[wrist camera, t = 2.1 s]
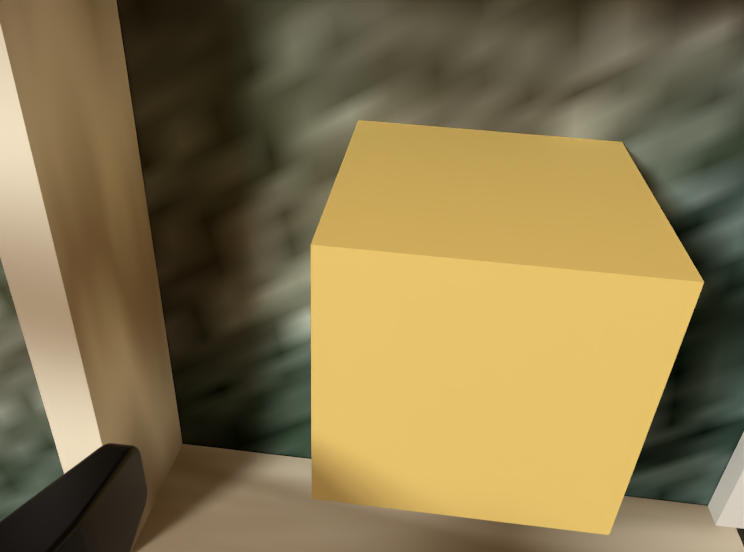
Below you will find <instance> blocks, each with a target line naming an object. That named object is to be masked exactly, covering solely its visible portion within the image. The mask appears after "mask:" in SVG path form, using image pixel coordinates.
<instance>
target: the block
mask: <svg viewBox="0 0 744 552" xmlns="http://www.w3.org/2000/svg"><path fill="white" fill-rule="evenodd" d="M703 284H704V281H703V279H702V278H701V276H700V274H699V272H698V271H697V269H696V267H695V266H694V264H693V262H692V261H691V259H690V257H689V255H688V254H687V252H686V250H685V249H684V247H683V245H682V243H681V242H680V240H679V238H678V237H677V235H676V233H675V232H674V230H673V228H672V226H671V225H670V223H669V221H668V220H667V218H666V216H665V214H664V213H663V211H662V209H661V208H660V206H659V204H658V203H657V201H656V199H655V197H654V196H653V194H652V192H651V191H650V189H649V187H648V185H647V184H646V182H645V180H644V179H643V177H642V175H641V174H640V172H639V170H638V168H637V167H636V165H635V163H634V162H633V160H632V158H631V156H630V155H629V153H628V151H627V150H626V148H625V146H624V145H623V143H622V142H616V141H604V140H592V139H579V138H567V137H555V136H543V135H531V134H519V133H507V132H495V131H483V130H470V129H458V128H446V127H434V126H422V125H410V124H398V123H386V122H374V121H361V120H358V122H357V125H356V128H355V130H354V133H353V136H352V138H351V141H350V143H349V146H348V149H347V151H346V154H345V157H344V159H343V162H342V164H341V167H340V170H339V172H338V175H337V177H336V180H335V183H334V185H333V188H332V191H331V193H330V196H329V198H328V201H327V204H326V206H325V209H324V212H323V214H322V217H321V219H320V222H319V225H318V227H317V230H316V232H315V235H314V238H313V240H312V243H311V459H312V499H316V500H324V501H333V502H341V503H349V504H357V505H366V506H374V507H382V508H390V509H398V510H407V511H415V512H423V513H431V514H440V515H448V516H456V517H464V518H472V519H481V520H489V521H497V522H505V523H514V524H522V525H530V526H538V527H547V528H555V529H563V530H571V531H579V532H588V533H596V534H604V535H609V534H610V532H611V529H612V526H613V524H614V521H615V518H616V516H617V513H618V510H619V508H620V505H621V502H622V500H623V497H624V494H625V492H626V489H627V486H628V484H629V481H630V478H631V476H632V473H633V470H634V468H635V465H636V462H637V460H638V457H639V454H640V452H641V449H642V447H643V444H644V441H645V439H646V436H647V433H648V431H649V428H650V425H651V423H652V420H653V417H654V415H655V412H656V409H657V407H658V404H659V401H660V399H661V396H662V393H663V391H664V388H665V385H666V383H667V380H668V377H669V375H670V372H671V369H672V367H673V364H674V361H675V359H676V356H677V353H678V351H679V348H680V345H681V343H682V340H683V337H684V335H685V332H686V329H687V327H688V324H689V321H690V319H691V316H692V313H693V311H694V308H695V306H696V303H697V300H698V298H699V295H700V292H701V290H702V287H703Z"/></svg>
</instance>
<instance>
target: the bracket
mask: <svg viewBox="0 0 744 552" xmlns="http://www.w3.org/2000/svg"><path fill="white" fill-rule="evenodd" d="M0 257H1V261H2V264H3V267H4V271H5V274H6V278H7V281H8V284H9V288H10V291H11V295H12V298H13V301H14V305H15V308H16V312H17V315H18V318H19V322H20V325H21V329H22V332H23V335H24V339H25V342H26V346H27V349H28V352H29V356H30V359H31V363H32V366H33V369H34V373H35V376H36V380H37V383H38V386H39V390H40V393H41V397H42V400H43V403H44V407H45V410H46V414H47V417H48V420H49V424H50V427H51V431H52V434H53V437H54V441H55V444H56V448H57V451H58V454H59V458H60V461H61V465H62V468H63V471H64V474H65V473H66V472H67V471H69V470H70V469H71V468H73V467H74V466H75V465H77V464H78V463H79V462H81V461H82V460H83V459H85V458H86V457H87V456H89V455H90V454H91V453H93V452H94V451H95V450H97V449H98V448H100V447H101V446H103V445H105V444H108V443H116V444H124V445H133V446H136V447H137V448H138V449H139V451H140V453H141V458H142V463H143V468H144V473H145V478H146V483H147V501H146V505H145V509H144V512H143V515H142V518H141V521H140V524H139V527H138V530H137V533H136V536H135V539H134V542H133V545H132V548H131V551H130V552H744V546H743V544H742V541H741V539H740V536H739V534H738V532H737V529H736V528H733V527H725V526H717V525H715V523H714V520H713V518H712V515H711V513H710V510H709V507H708V506H705V505H697V504H688V503H680V502H671V501H663V500H654V499H646V498H637V497H629V496H624V497H623V500H622V502H621V505H620V508H619V510H618V513H617V516H616V518H615V521H614V524H613V526H612V529H611V532H610V534H609V535H604V534H596V533H588V532H579V531H571V530H563V529H555V528H547V527H538V526H530V525H522V524H514V523H505V522H497V521H489V520H481V519H472V518H464V517H456V516H448V515H440V514H431V513H423V512H415V511H407V510H398V509H390V508H382V507H374V506H366V505H357V504H349V503H341V502H333V501H324V500H316V499H312V459H307V458H298V457H290V456H281V455H273V454H265V453H256V452H248V451H239V450H231V449H222V448H214V447H205V446H197V445H188V444H183V443H182V436H181V430H180V423H179V416H178V410H177V403H176V396H175V389H174V383H173V376H172V369H171V363H170V356H169V349H168V343H167V336H166V329H165V322H164V316H163V309H162V302H161V296H160V289H159V282H158V276H157V269H156V262H155V256H154V249H153V242H152V235H151V229H150V222H149V215H148V209H147V202H146V195H145V189H144V182H143V175H142V168H141V162H140V155H139V148H138V142H137V135H136V128H135V122H134V115H133V108H132V102H131V95H130V88H129V81H128V75H127V68H126V61H125V55H124V48H123V41H122V35H121V28H120V21H119V14H118V8H117V1H116V0H0Z"/></svg>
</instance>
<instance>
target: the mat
mask: <svg viewBox="0 0 744 552" xmlns="http://www.w3.org/2000/svg"><path fill="white" fill-rule="evenodd" d="M708 507H709V510H710V513H711V515H712V518H713V520H714V523H715V525H717V526H725V527H733V528H742V529H744V432H743V434H742V436H741V438H740V440H739V442H738V445H737V447H736V449H735V451H734V453H733V455H732V457H731V459H730V461H729V463H728V465H727V467H726V469H725V471H724V473H723V476H722V478H721V480H720V482H719V484H718V486H717V488H716V490H715V492H714V494H713V496H712V498H711V500H710V502H709V505H708Z"/></svg>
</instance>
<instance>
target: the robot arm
mask: <svg viewBox="0 0 744 552" xmlns="http://www.w3.org/2000/svg"><path fill="white" fill-rule="evenodd" d="M146 501H147V483H146V478H145V473H144V468H143V463H142V458H141V453H140V451H139V449H138V448H137V447H136V446H133V445H124V444H116V443H108V444H105V445H103V446H101V447H100V448H98V449H97V450H95V451H94V452H93V453H91V454H90V455H89V456H87V457H86V458H85V459H83V460H82V461H81V462H79V463H78V464H77V465H75V466H74V467H73V468H71V469H70V470H69V471H67V472H66V473H65V474H63V475H62V476H61V477H59V478H58V479H57V480H55V481H54V482H53V483H51V484H50V485H49V486H47V487H46V488H45V489H43V490H42V491H41V492H39V493H38V494H37V495H35V496H34V497H33V498H31V499H30V500H29V501H27V502H26V503H25V504H23V505H22V506H21V507H19V508H18V509H17V510H15V511H14V512H13V513H11V514H10V515H8V516H7V517H6V518H4V519H3V520H2V521H0V552H130V551H131V548H132V545H133V542H134V539H135V536H136V533H137V530H138V527H139V524H140V521H141V518H142V515H143V512H144V509H145V505H146Z"/></svg>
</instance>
